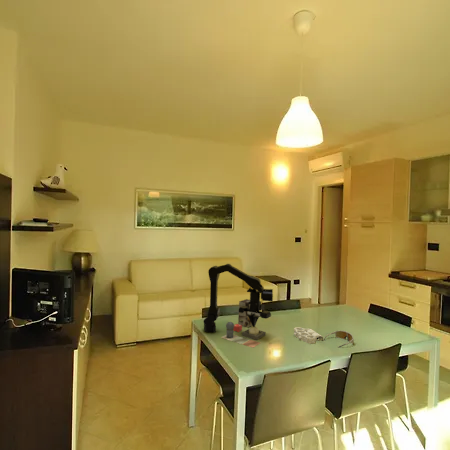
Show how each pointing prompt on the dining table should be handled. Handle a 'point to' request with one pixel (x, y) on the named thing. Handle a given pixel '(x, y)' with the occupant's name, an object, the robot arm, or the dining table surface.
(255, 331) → the cream cylinder
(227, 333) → the pawn
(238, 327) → the red die
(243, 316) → the coffee box
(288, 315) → the dining table surface
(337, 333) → the sunglasses
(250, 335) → the base
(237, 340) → the game board
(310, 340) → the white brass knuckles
